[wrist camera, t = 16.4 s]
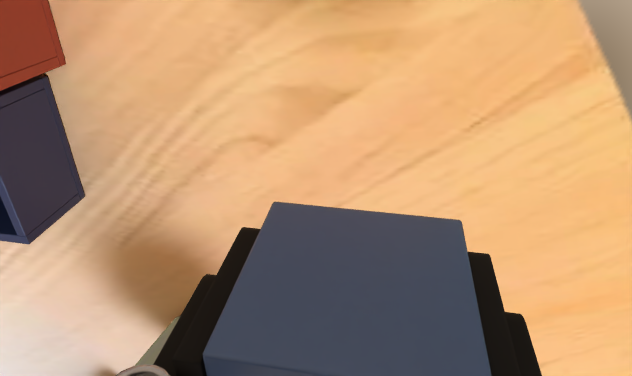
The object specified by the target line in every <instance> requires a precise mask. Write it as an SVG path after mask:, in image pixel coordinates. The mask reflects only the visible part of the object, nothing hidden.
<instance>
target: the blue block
mask: <svg viewBox="0 0 632 376" xmlns="http://www.w3.org/2000/svg"><path fill="white" fill-rule="evenodd" d="M203 360H204V364H205V369H206V374H207V376H491V370H490V365H489V360H488V355H487V350H486V345H485V340H484V334H483V329H482V324H481V319H480V314H479V309H478V303H477V298H476V293H475V288H474V283H473V278H472V272H471V267H470V262H469V257H468V252H467V247H466V242H465V236H464V231H463V226H462V222H461V221H460V220H454V219H444V218H434V217H424V216H414V215H404V214H394V213H384V212H374V211H364V210H354V209H343V208H333V207H323V206H313V205H303V204H293V203H283V202H273V204H272V206H271V208H270V210H269V212H268V215H267V217H266V219H265V221H264V223H263V225H262V227H261V230H260V232H259V234H258V236H257V238H256V240H255V242H254V245H253V247H252V249H251V251H250V253H249V255H248V257H247V260H246V262H245V264H244V266H243V268H242V270H241V272H240V275H239V277H238V279H237V281H236V283H235V285H234V287H233V290H232V292H231V294H230V296H229V298H228V300H227V302H226V305H225V307H224V309H223V311H222V313H221V315H220V317H219V320H218V322H217V324H216V326H215V328H214V330H213V333H212V335H211V337H210V339H209V341H208V343H207V345H206V348H205V350H204V352H203Z"/></svg>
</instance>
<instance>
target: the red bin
mask: <svg viewBox="0 0 632 376" xmlns="http://www.w3.org/2000/svg"><path fill="white" fill-rule="evenodd" d="M65 64H66V63H65V59H64V56H63V52H62V49H61V45H60V42H59V38H58V35H57V31H56V28H55V24H54V21H53V17H52V14H51V11H50V7H49V4H48V0H0V91H1V90H4V89H6V88H8V87H11V86H13V85H16V84H18V83H21V82H23V81H26V80H28V79H30V78H33V77H35V76H38V75H40V74H43V73H45V72H48V71H50V70H52V69H55V68H57V67H60V66H62V65H65Z"/></svg>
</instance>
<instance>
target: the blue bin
mask: <svg viewBox="0 0 632 376" xmlns="http://www.w3.org/2000/svg"><path fill="white" fill-rule="evenodd" d="M84 197H85V195H84V192H83V188H82V185H81V182H80V179H79V176H78V172H77V169H76V166H75V163H74V160H73V156H72V153H71V150H70V147H69V144H68V141H67V137H66V134H65V131H64V128H63V125H62V121H61V118H60V115H59V112H58V109H57V105H56V102H55V99H54V96H53V93H52V89H51V86H50V83H49V80H48V77H47V76H35V77H33V78H30V79H28V80H26V81H23V82H21V83H18V84H16V85H13V86H11V87H8V88H6V89H4V90H1V91H0V241H7V242H15V243H22V244H30V243H31V242H32V241H34V240H35V239H36V238H37V237H38V236H39V235H41V234H42V233H43V232H44V231H45V230H46V229H48V228H49V227H50V226H51V225H52V224H54V223H55V222H56V221H57V220H58V219H59V218H61V217H62V216H63V215H64V214H65V213H66V212H68V211H69V210H70V209H71V208H72V207H73V206H75V205H76V204H77V203H78V202H79V201H80V200H82V199H83V198H84Z"/></svg>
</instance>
